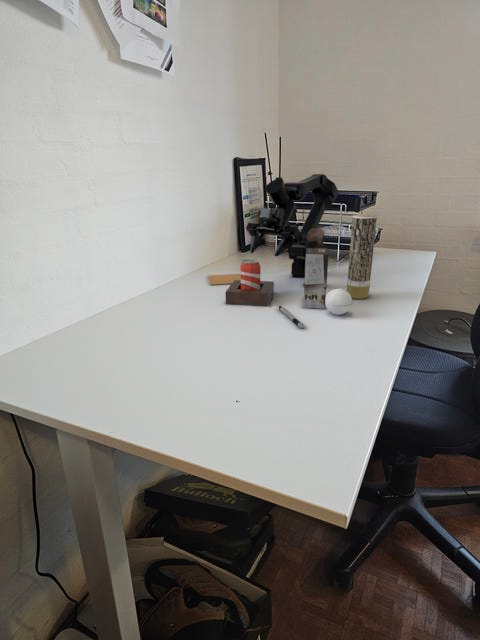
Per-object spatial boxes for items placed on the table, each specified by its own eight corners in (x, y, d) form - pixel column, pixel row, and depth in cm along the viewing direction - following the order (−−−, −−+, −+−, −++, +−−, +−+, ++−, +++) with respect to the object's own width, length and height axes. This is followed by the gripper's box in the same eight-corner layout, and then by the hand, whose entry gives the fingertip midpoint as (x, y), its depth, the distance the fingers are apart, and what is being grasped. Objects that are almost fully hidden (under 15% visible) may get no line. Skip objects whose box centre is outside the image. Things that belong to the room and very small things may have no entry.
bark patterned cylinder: (368, 294, 128) (377, 214, 119) (367, 300, 122) (376, 217, 113) (347, 292, 131) (353, 213, 121) (345, 298, 125) (351, 216, 115)
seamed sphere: (324, 318, 109) (326, 292, 107) (323, 309, 116) (325, 284, 114) (362, 319, 108) (365, 293, 105) (359, 310, 115) (361, 285, 112)
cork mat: (239, 274, 154) (239, 273, 154) (244, 283, 143) (244, 282, 143) (208, 276, 152) (208, 275, 152) (210, 285, 141) (210, 284, 141)
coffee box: (325, 309, 116) (328, 254, 110) (302, 308, 117) (305, 253, 111) (325, 299, 124) (328, 247, 119) (304, 298, 126) (306, 247, 120)
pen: (282, 309, 117) (282, 305, 116) (305, 330, 102) (305, 325, 101) (278, 309, 116) (278, 305, 116) (300, 330, 102) (301, 325, 101)
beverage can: (264, 297, 127) (264, 260, 123) (253, 302, 123) (252, 264, 118) (248, 294, 131) (248, 258, 126) (237, 299, 126) (236, 261, 122)
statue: (325, 284, 139) (329, 226, 132) (320, 290, 133) (324, 229, 126) (306, 282, 142) (309, 225, 135) (300, 288, 136) (303, 228, 129)
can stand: (273, 293, 131) (273, 281, 130) (268, 306, 119) (268, 293, 118) (235, 291, 134) (234, 279, 132) (225, 304, 122) (225, 291, 121)
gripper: (248, 197, 130) (228, 236, 126) (299, 199, 120) (279, 241, 116) (262, 219, 139) (243, 256, 135) (310, 222, 129) (291, 263, 124)
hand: (263, 254), depth 127 cm, fingers open, 9 cm apart
